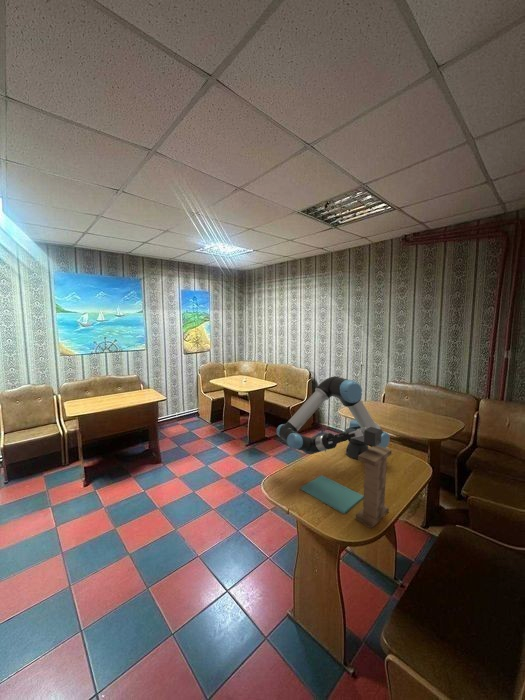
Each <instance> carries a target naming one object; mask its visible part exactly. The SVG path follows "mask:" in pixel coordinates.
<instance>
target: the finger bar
mask: <svg viewBox="0 0 525 700" xmlns="http://www.w3.org/2000/svg"><path fill="white" fill-rule="evenodd" d="M381 429H382V428H381ZM381 429H377V428H374V427H370V428H368V429H366V430H364V432H362V431H361V432H362V434H363V436H360V437H356V438H353V439H356V440H359V441H362V442H364V443H365V444H368V445H371V446H374V447H375V446H377V445H378V444H380V443H381V434H382V431H383V429H382V430H381ZM354 431H357V430H356V429H353V428H349V427H348V428H346V429H345V430H344V433H345V434H348V433H350V432H354ZM348 435H349V434H348Z"/></svg>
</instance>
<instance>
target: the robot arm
mask: <svg viewBox="0 0 525 700" xmlns="http://www.w3.org/2000/svg"><path fill="white" fill-rule="evenodd" d="M314 390H315V391H314V392H313V393H312V394H311V395H310V396H309V397H308V398H307V400H306V401H305V402H304V403H303V404H302V405H301V406H300V407H299V409H298V410H297V411H296V412H295V413H294V414H293V415H292V417H290V419H288V421H287V422H286V423H282V424H279V425H278V426H277V428H276V435H277V436H278V437H279V438H280V440H282V441H284V442H286V444H287V446H288V447H289V448H291V449H293V450H297V451H302V452H303V453H304V454H305V455H314V454H316V453H317V454H318V453H320V452H324V453H325V452H327V451H329V450H332V449H335V448H336V447H337V444H339V443H343V442H347V441H348V444H347V447H346V449H345V454H346V455H347V457H349V458H350V459H354V460H357V461H359V460H358V455H360V454H361V453H363V452H365V451H366V450H368V449H369V448H371V447H373V446H371V445H368V444H365V443H364V442H362V441H359V440H356V439H353V438H356V437H360V436H363V434H362V432H364V430H366V429H368V428H370V427H374V428H377V429H381V430H382V434H381V443H380V444H378V446H381V447H384V448H387V447H388V446H389V443H390V442H391V441H390V437H391V435H390V434H389V433H388V432H386V431H384V430H383V429H382V428H381V426H380V424H378V423H377V422H375V420H374V419H373V417H372V416H371V414H370V413H369V411H368V409H367V407H366V406H365V405H364V402H363V401H362V395H363V393H362V392H363V389H362V387H361V385H360V383H358V382H356V381H354V380H352V379H347V378H344V377H340V376H330V377H328V378H326V379H324V380H323V381H321V382H320V383H319V384H318V385H317V386H316V387H315V389H314ZM332 397H334V398H336V399H338V400H340V402H341V404H342V405H343V406H344V407H346V408H347V409H348V410H349V411H350V413H351V414H352V416H353V418H354V419H353V420H351V421H350V422H349V427H348V428H353V429H356V430H357V431H354V432H350V433H348V434H349V435H348V434H345V432H342V433H337V434H333V433H331V432H328V433H326V434H322V435H318V436H316V437H310V436H305V435H303V434H301V433H299V432H298V431H299V430H300V429H301V428H302V427H303V426H304V425H305V423H306V422H308V420H309V419H310V418H311V416H312V415H313V414H314V413H316V411H317V410H318V409H319V408H320V407H321V405H322V404H323V403H324V402H325V401H328V400H329V399H331V398H332ZM361 431H362V432H361Z"/></svg>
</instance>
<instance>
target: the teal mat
mask: <svg viewBox="0 0 525 700" xmlns="http://www.w3.org/2000/svg"><path fill="white" fill-rule="evenodd" d="M300 490H301V491H303V492H305V493H306V494H307V495H310V496H312V497H313V498H315V499H317V500H319V502H322V503H323V504H326V505H327V506H328V507H331V508H332V509H334V510H336V511H338V512H339V513H341V514H342V515H345V514H347V513H348V512H349V511H350V510H352V509H353V508H354V507H355V506H356V505H357V504H359V503H360V502H361V501H362V500H364V494H361V493H359V492H357V491H355V490H353V489H350V488H348V487H346V486H344V485H342V484H341V483H339V482H338V481H337V482H336V481H334V480H333V479H330V478H328V477H327V476H324V475H322V474H321V475H319V476H317V477H316V478H314V479H312V480H310V481H309V482H307V483H306V484H304V485H302V486H301V487H300Z"/></svg>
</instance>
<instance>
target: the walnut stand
mask: <svg viewBox="0 0 525 700" xmlns="http://www.w3.org/2000/svg"><path fill="white" fill-rule="evenodd" d="M368 448H369V449H368V450H366V451H365V452H363V453H361V454H360V455H358V460H357V461H360V462H362V463H364V476H363V477H364V480H363V496H364V498H363V505H362V509H361V510H360V511H359V512H358V513H356V514H355V520H357V521H358V522H359V523H361V524H364V525H365V526H367V527H369V528H370V529H373V528H374V527H375V526H376V525H377V524H378V523H379V522H380V521H381V520H382V519H383V518H384V517H385V516H386V515H387V514H388V513H389V507H390V506H389V507H388V506H386V505H385V501H386V499H385V498H386V497H385V496H386V483H387V482H386V479H387V464H388V463H387V462H388V461H387V460H388V458H389V457H390V456H391V455H392V452H393V451H392V449H389V448H387V447H386V448H384V447H381V446H378V445H377V446H375V447H374V446H373V447H368Z"/></svg>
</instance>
